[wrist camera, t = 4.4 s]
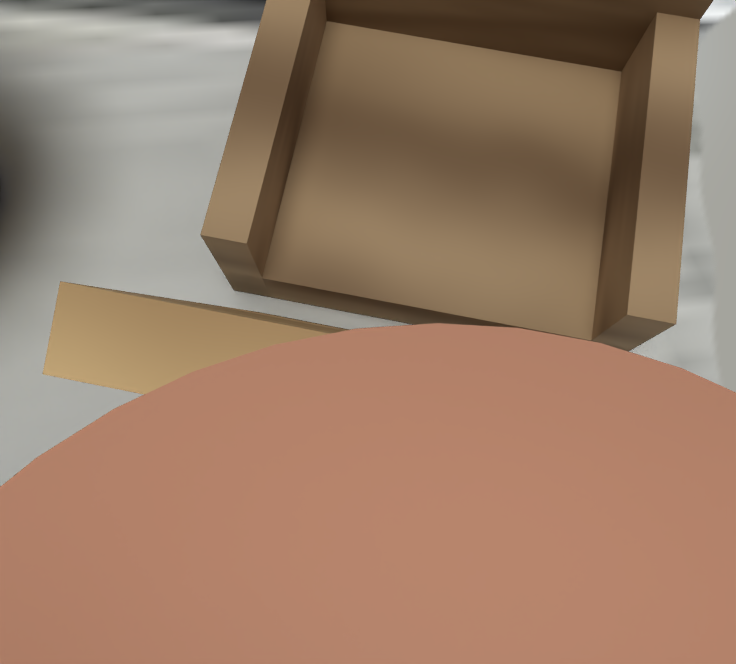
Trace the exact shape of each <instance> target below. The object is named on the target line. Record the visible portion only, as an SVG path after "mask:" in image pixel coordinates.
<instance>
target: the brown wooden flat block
mask: <svg viewBox="0 0 736 664" xmlns="http://www.w3.org/2000/svg"><path fill="white" fill-rule="evenodd" d="M346 330H348V329H343V328H338V327H333V326H327V325H322V324H317V323H312V322H307V321H302V320H296V319H291V318H286V317H281V316H276V315H270V314H265V313H260V312H254V311H247V310H241V309H235V308H228V307H222V306H215V305H209V304H202V303H196V302H189V301H183V300H176V299H170V298H164V297H157V296H151V295H144V294H138V293H131V292H125V291H118V290H112V289H105V288H99V287H93V286H86V285H80V284H73V283H67V282H60V286H59V291H58V296H57V302H56V307H55V312H54V317H53V323H52V328H51V333H50V338H49V344H48V349H47V354H46V360H45V365H44V370H43V374H45V375H50V376H55V377H60V378H65V379H70V380H75V381H80V382H85V383H90V384H95V385H100V386H105V387H110V388H115V389H120V390H125V391H130V392H135V393H140V394H147V393H149V392H151V391H153V390H155V389H157V388H159V387H161V386H164V385H166V384H168V383H170V382H172V381H174V380H176V379H178V378H180V377H183V376H185V375H187V374H189V373H191V372H193V371H196V370H199V369H202V368H205V367H208V366H211V365H214V364H217V363H220V362H223V361H226V360H229V359H232V358H235V357H238V356H241V355H244V354H247V353H251V352H254V351H257V350H260V349H263V348H266V347H269V346H272V345H275V344H280V343H286V342H291V341H296V340H301V339H306V338H311V337H316V336H321V335H326V334H331V333H336V332H341V331H346Z"/></svg>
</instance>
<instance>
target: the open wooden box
mask: <svg viewBox="0 0 736 664" xmlns="http://www.w3.org/2000/svg"><path fill="white" fill-rule="evenodd" d="M712 1H713V0H267V1H266V4H265V8H264V11H263V15H262V19H261V22H260V26H259V29H258V33H257V36H256V40H255V43H254V47H253V50H252V54H251V58H250V61H249V65H248V68H247V72H246V75H245V79H244V82H243V86H242V89H241V93H240V97H239V100H238V104H237V107H236V111H235V114H234V118H233V121H232V125H231V128H230V132H229V135H228V139H227V143H226V146H225V150H224V153H223V157H222V160H221V164H220V167H219V171H218V174H217V178H216V182H215V185H214V189H213V192H212V196H211V199H210V203H209V206H208V210H207V213H206V217H205V221H204V224H203V228H202V231H201V237H202V238H203V240H204V242H205V243H206V245H207V247H208V248H209V250H210V251H211V253H212V255H213V256H214V258H215V260H216V261H217V263H218V265H219V266H220V268H221V270H222V271H223V273H224V275H225V276H226V278H227V280H228V281H229V283H230V285H231V286H232V288H233V290H236V291H241V292H247V293H252V294H257V295H262V296H268V297H273V298H278V299H283V300H289V301H294V302H299V303H304V304H310V305H315V306H320V307H325V308H330V309H336V310H341V311H346V312H351V313H357V314H362V315H367V316H372V317H378V318H383V319H388V320H393V321H399V322H404V323H409V324H414V325H418V324H433V323H442V324H460V325H477V326H494V327H511V328H522V329H527V330H533V331H538V332H544V333H549V334H555V335H560V336H565V337H571V338H576V339H582V340H587V341H593V342H598V343H602V344H606V345H609V346H612V347H615V348H618V349H621V350H625V351H630V350H632V349H634V348H635V347H637V346H639V345H640V344H642V343H644V342H646V341H647V340H649V339H651V338H653V337H654V336H656V335H658V334H660V333H661V332H663V331H665V330H667V329H668V328H670V327H672V326H674V325H675V324H676V319H677V306H678V294H679V281H680V268H681V255H682V243H683V230H684V217H685V204H686V191H687V179H688V166H689V153H690V140H691V128H692V115H693V102H694V89H695V77H696V64H697V51H698V38H699V25H700V19H701V17H702V16H703V14H704V13H705V12H706V10H707V9H708V7H709V6H710V4H711V3H712Z"/></svg>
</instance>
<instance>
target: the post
mask: <svg viewBox="0 0 736 664" xmlns="http://www.w3.org/2000/svg"><path fill="white" fill-rule="evenodd" d="M0 664H736V393H735V392H733V391H731V390H729V389H727V388H724V387H722V386H720V385H718V384H715V383H713V382H711V381H709V380H707V379H704V378H702V377H700V376H698V375H695V374H693V373H691V372H689V371H687V370H684V369H682V368H679V367H676V366H672V365H669V364H666V363H663V362H660V361H657V360H653V359H650V358H647V357H644V356H641V355H637V354H634V353H631V352H628V351H625V350H621V349H618V348H615V347H612V346H609V345H606V344H602V343H598V342H593V341H587V340H582V339H576V338H571V337H565V336H560V335H555V334H549V333H544V332H538V331H533V330H527V329H522V328H511V327H494V326H477V325H460V324H442V323H433V324H418V325H403V326H389V327H374V328H359V329H352V330H346V331H341V332H336V333H331V334H326V335H321V336H316V337H311V338H306V339H301V340H296V341H291V342H286V343H280V344H275V345H272V346H269V347H266V348H263V349H260V350H257V351H254V352H251V353H247V354H244V355H241V356H238V357H235V358H232V359H229V360H226V361H223V362H220V363H217V364H214V365H211V366H208V367H205V368H202V369H199V370H196V371H193V372H191V373H189V374H187V375H185V376H183V377H180V378H178V379H176V380H174V381H172V382H170V383H168V384H166V385H164V386H161V387H159V388H157V389H155V390H153V391H151V392H149V393H147V394H145V395H142V396H140V397H138V398H136V399H134V400H132V401H130V402H128V403H126V404H123V405H121V406H119V407H117V408H115V409H113V410H112V411H110V412H108V413H107V414H105V415H104V416H102V417H100V418H99V419H97V420H96V421H94V422H93V423H91V424H89V425H88V426H86V427H85V428H83V429H81V430H80V431H78V432H77V433H75V434H73V435H72V436H70V437H69V438H67V439H66V440H64V441H62V442H61V443H59V444H58V445H56V446H54V447H53V448H51V449H50V450H48V451H46V452H45V453H43V454H42V455H40V456H39V457H37V458H36V459H34V460H33V461H32V462H31V463H29V464H28V465H27V466H26V467H24V468H23V469H22V470H21V471H19V472H18V473H17V474H16V475H15V476H13V477H12V478H11V479H10V480H8V481H7V482H6V483H5V484H3V485H2V486H1V487H0Z"/></svg>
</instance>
